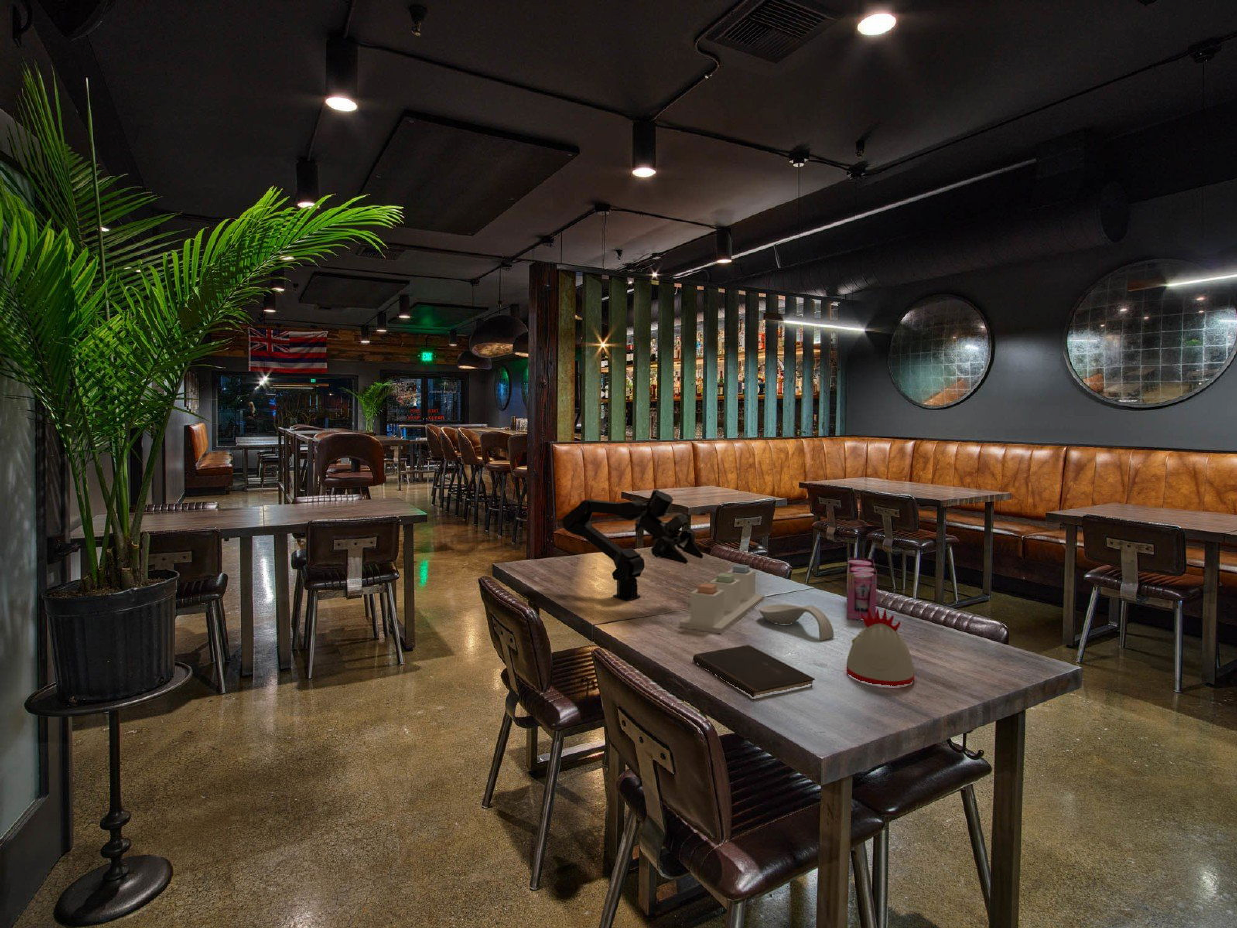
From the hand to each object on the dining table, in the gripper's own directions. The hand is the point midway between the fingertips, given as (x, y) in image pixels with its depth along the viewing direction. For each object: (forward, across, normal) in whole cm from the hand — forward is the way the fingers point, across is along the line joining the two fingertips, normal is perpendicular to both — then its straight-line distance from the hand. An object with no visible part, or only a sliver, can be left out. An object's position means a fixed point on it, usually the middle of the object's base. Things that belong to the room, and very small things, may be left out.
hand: (694, 559), depth 190 cm
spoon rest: (+34, +3, -2) cm, 34 cm away
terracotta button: (+12, -10, +2) cm, 16 cm away
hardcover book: (+37, -35, -4) cm, 51 cm away
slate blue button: (+10, +17, +3) cm, 20 cm away
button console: (+15, +4, +9) cm, 18 cm away
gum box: (+42, +31, -7) cm, 52 cm away
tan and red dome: (+57, -19, -16) cm, 62 cm away
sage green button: (+11, +4, +3) cm, 12 cm away
